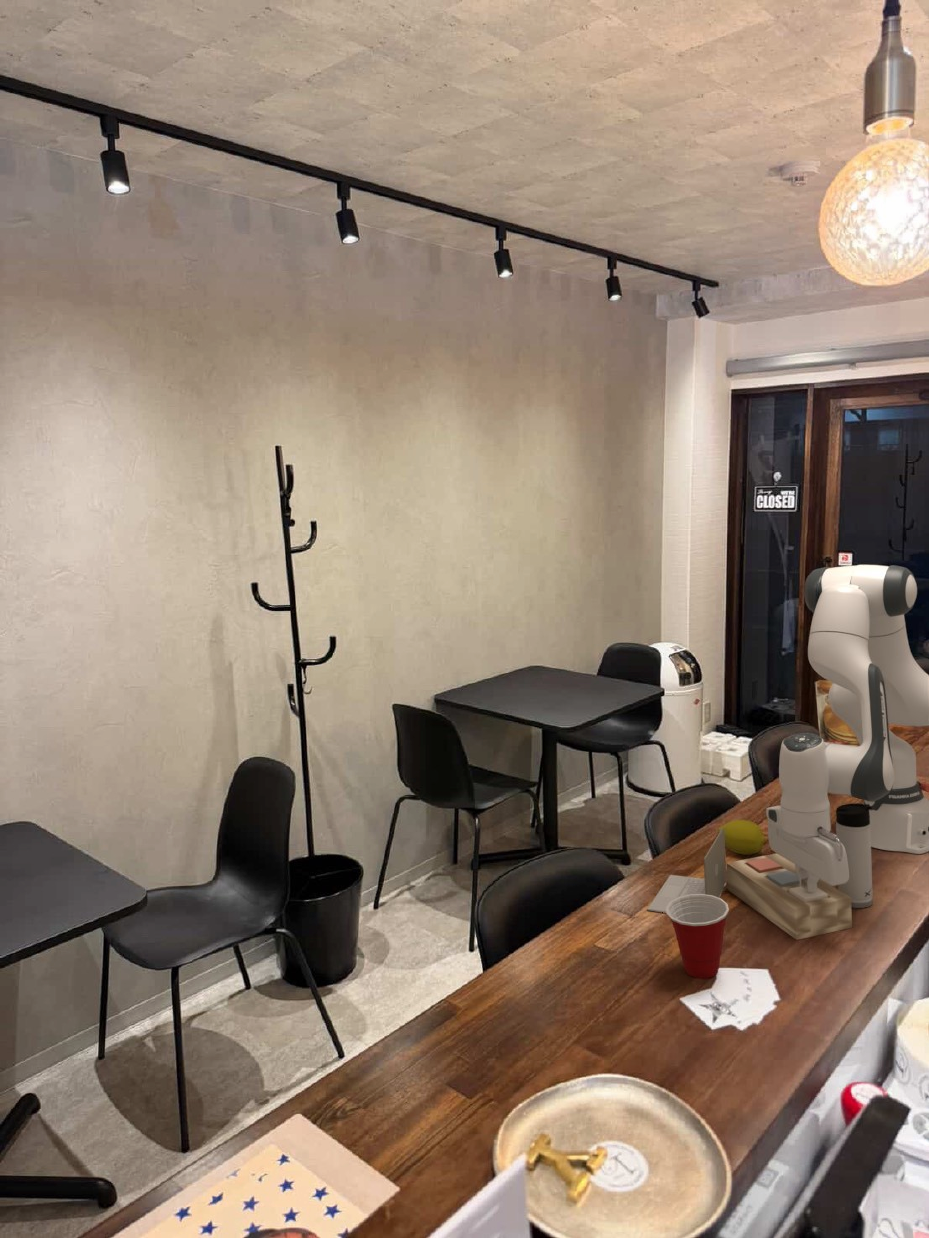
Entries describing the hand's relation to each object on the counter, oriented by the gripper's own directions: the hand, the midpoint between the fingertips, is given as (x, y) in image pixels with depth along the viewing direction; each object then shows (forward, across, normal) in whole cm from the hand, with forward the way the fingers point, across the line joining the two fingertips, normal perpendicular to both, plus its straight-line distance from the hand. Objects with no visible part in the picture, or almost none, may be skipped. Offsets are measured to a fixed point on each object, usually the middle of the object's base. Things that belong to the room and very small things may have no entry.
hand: (808, 889), depth 169 cm
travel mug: (+7, +4, -14) cm, 16 cm away
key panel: (+7, +7, 0) cm, 10 cm away
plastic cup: (+7, -8, +28) cm, 30 cm away
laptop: (+7, +20, +15) cm, 26 cm away
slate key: (+4, +7, 0) cm, 8 cm away
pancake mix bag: (+8, +70, -63) cm, 95 cm away
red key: (+4, +15, 0) cm, 15 cm away
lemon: (+7, +35, -7) cm, 37 cm away
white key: (+3, 0, 0) cm, 3 cm away
